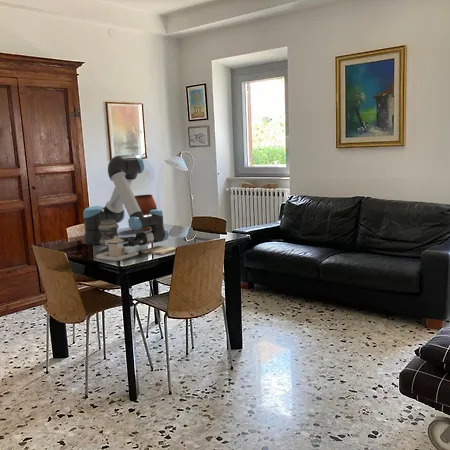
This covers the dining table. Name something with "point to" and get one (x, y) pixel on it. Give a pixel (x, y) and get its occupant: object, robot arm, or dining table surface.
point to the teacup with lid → (115, 247)
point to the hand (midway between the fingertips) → (111, 244)
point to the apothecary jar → (107, 232)
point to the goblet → (146, 205)
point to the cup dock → (103, 256)
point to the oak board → (159, 250)
